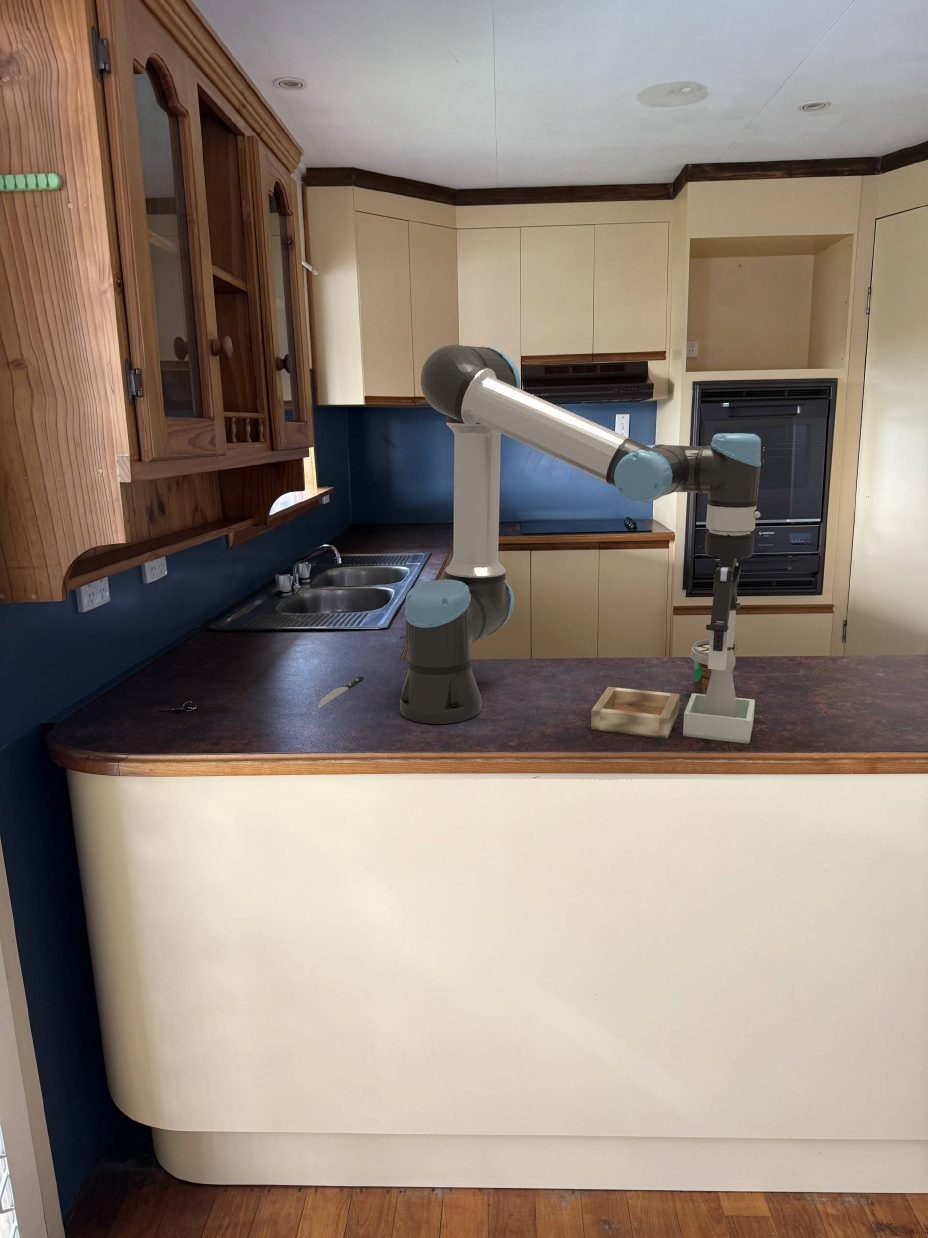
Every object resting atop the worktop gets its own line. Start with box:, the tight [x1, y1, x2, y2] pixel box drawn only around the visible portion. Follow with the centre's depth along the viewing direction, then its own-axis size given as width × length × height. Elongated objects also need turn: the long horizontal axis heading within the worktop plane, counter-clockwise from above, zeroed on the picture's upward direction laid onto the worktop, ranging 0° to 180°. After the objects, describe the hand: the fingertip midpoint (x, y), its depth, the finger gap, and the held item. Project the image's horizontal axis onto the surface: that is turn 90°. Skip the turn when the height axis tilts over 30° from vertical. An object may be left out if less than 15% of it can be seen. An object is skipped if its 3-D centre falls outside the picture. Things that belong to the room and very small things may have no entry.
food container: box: [689, 638, 738, 695], centre depth 158 cm, size 12×6×10 cm, turn 141°
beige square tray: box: [590, 686, 681, 740], centre depth 147 cm, size 13×13×4 cm
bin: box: [682, 692, 756, 745], centre depth 143 cm, size 11×11×4 cm
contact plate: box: [612, 703, 663, 715], centre depth 147 cm, size 9×9×1 cm
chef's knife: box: [317, 676, 365, 708], centre depth 165 cm, size 19×1×3 cm
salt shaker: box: [702, 652, 738, 718], centre depth 141 cm, size 6×6×13 cm
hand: (720, 657), depth 140 cm, fingers open, 13 cm apart
